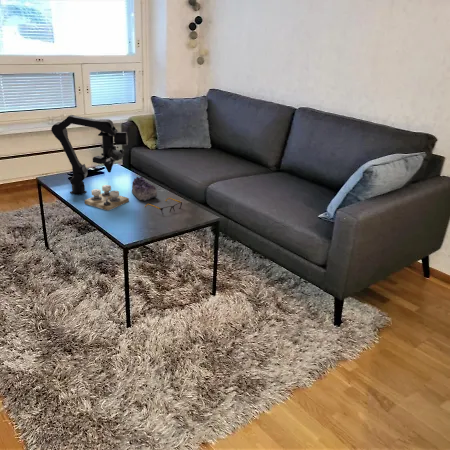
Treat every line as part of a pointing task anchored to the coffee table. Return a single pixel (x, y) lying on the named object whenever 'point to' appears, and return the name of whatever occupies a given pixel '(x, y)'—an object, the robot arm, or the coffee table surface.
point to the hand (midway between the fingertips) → (109, 172)
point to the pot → (107, 202)
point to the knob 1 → (96, 193)
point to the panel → (102, 199)
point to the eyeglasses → (168, 206)
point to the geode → (143, 189)
